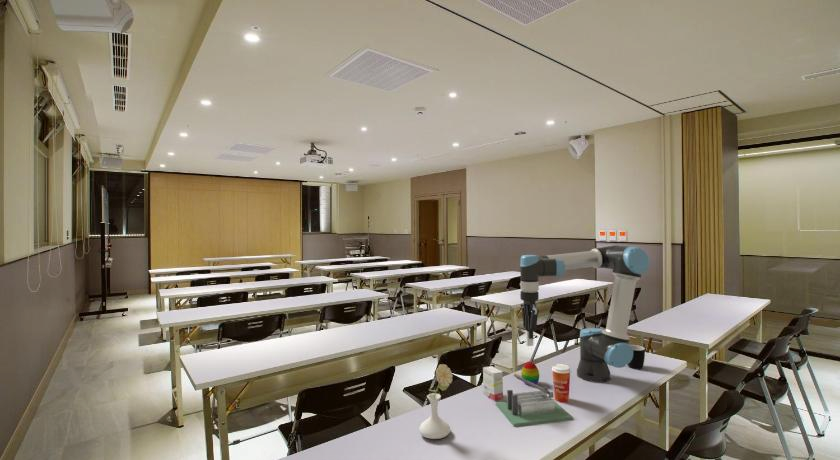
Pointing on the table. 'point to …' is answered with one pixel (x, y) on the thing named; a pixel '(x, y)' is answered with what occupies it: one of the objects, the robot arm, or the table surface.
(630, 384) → the table surface
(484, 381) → the ink box
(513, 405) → the lug posts
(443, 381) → the flower in vase
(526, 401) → the block
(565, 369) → the paper cup
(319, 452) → the table surface
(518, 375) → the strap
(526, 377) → the decorative egg
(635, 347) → the mug
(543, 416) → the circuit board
